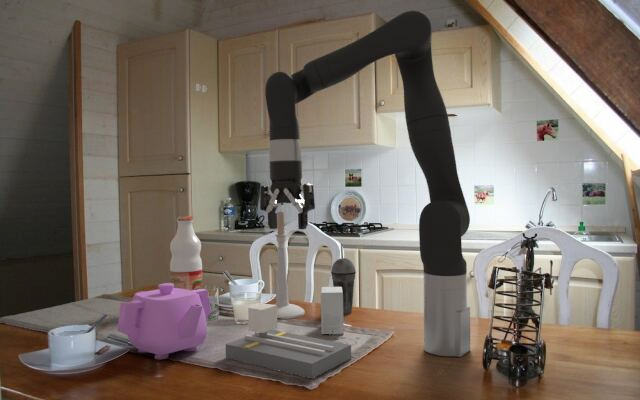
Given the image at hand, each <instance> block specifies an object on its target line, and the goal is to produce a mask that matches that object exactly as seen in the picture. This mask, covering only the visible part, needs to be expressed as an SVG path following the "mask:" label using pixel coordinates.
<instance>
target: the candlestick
mask: <svg viewBox="0 0 640 400" xmlns="http://www.w3.org/2000/svg"><path fill="white" fill-rule="evenodd" d="M276 213H277V228H276V230H277V234H274V236H275V237H276V241H277V243H278V246H277V259H276V260H277V263H276V290H275V291H276V296H275V303H274V304H272V305H277V318H284V319H283V320H290V319H297V318H300V317H303V316H304V315H305V312H306V311H305V309H304V308H302V307H301V306H299V305H298V304H293V303H290V302H289V292H288V277H287V275H288V274H287V263H286V250H285V249H286V246H285V242H286V240H287V239H286V237H287V236H288V234H287V233H286V234H285V211H283V210H281V209H280V210H279V211H276ZM285 318H286V319H285Z"/></svg>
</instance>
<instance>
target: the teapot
mask: <svg viewBox="0 0 640 400" xmlns="http://www.w3.org/2000/svg"><path fill="white" fill-rule="evenodd" d="M157 287H158V288H157V289H152V290H144V291H137V292H135V293H134V296H133V297H132V301H126V302H125V301H124V302H121V303H120V305H119V311H118V312H119V314H118V319H117V320H118V323H117V328H116V329H117V331H118V332H120V333H122V334H124V335H126V336H127V338H128V341H129V342H130V344H131V346H133V347H134V348H136V349H137V352H138V353H149V354H154V359H155V360H165V359H167V358H170V357H169V355H170V354H172V353H175V352H179V351H184V352H193V351H196V350H198V348H197V346H198V347H199V346H201V345H204V343H205V340H206V338H207V334H208V325H207V317H209V316H210V315H211V314H212V310H211V305H210V304H211V303H210V297H209V291H208V289H205V288H203V289H197V290H192V291H190V290H186V289H180V288H174V284H172V283H170V282H166V283H165V282H163V283H159V284H158V285H157Z"/></svg>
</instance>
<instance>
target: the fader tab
mask: <svg viewBox="0 0 640 400" xmlns="http://www.w3.org/2000/svg"><path fill="white" fill-rule="evenodd" d="M247 309H248V310H247V316H248V318H247V319H248V321H247V322H248V331H250V332H254V333H255V332H259V337H261V338H267V331H270V330H275V329H278V319H277V305H273V304H270V303H269V304H268V303H264V302H263V303H259V304H256V305H253V306H248V308H247Z"/></svg>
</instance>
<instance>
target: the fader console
mask: <svg viewBox="0 0 640 400" xmlns="http://www.w3.org/2000/svg"><path fill="white" fill-rule="evenodd" d="M228 358H229V360H232V359H233V360H232V361H236V360H238V361H237V362H240V361H241V362H240V363H244V362H246V363H245V364H248V363H250V364H249V365H252V364H253V366H256V365H258V366H257V367H260V366H263V367H262V368H264V367H267V368H266V369H268V368H271V369H270V370H272V369H276V370H275V371H277V370H280V371H279V372H281V371H284V372H283V373H285V372H288V373H287V374H289V373H292V374H291V375H293V374H296V375H295V376H297V375H300V376H299V377H301V376H304V377H303V378H305V377H309V378H314V377H316V376H318V375H320V374H322V373H324V372H326V371H327V372H329V371H331V370H333V369H335V368H336V367H335V366H337V365H339V364H341V363H343V362H345V361H346V362H348V361H350V360H352V344H349V343H343V342H337V341H334V340H328V339H322V338H316V337H311V336H307V335H302V334H295V333H291V332H285V331H281V330H275V329H273V330H270V331H267V338H261V337H259V332H254V333H253V334H246V335H244V337H242V338H239V339H236V340H233V341H231V342H228V343H226V344H225V359H228ZM349 359H350V360H349ZM347 360H348V361H347ZM346 362H345V363H346ZM343 364H344V363H343ZM341 365H342V364H341ZM339 366H340V365H339ZM334 367H335V368H334ZM337 367H338V366H337ZM332 368H333V369H332ZM330 369H331V370H330ZM328 370H329V371H328ZM327 372H326V373H327ZM324 374H325V373H324ZM322 375H323V374H322ZM320 376H321V375H320ZM318 377H319V376H318ZM309 378H308V379H309ZM316 378H317V377H316ZM314 379H315V378H314Z"/></svg>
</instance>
